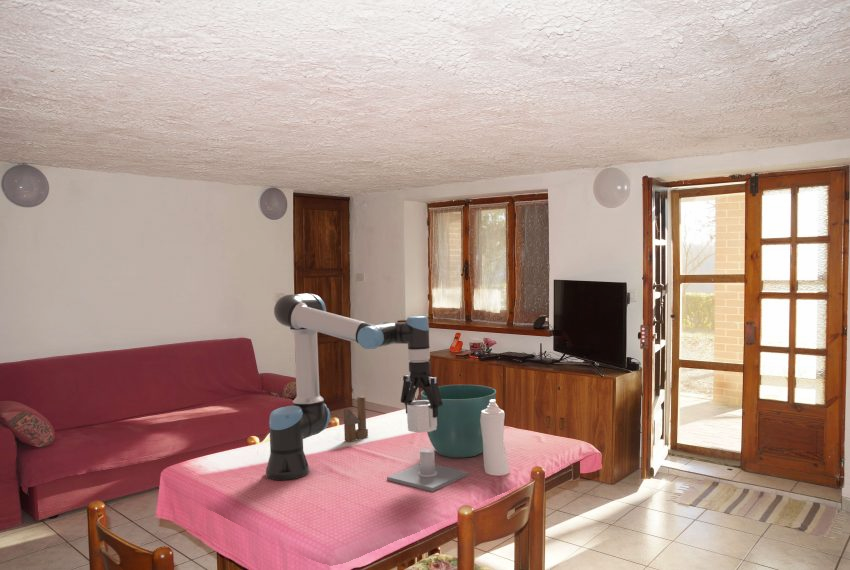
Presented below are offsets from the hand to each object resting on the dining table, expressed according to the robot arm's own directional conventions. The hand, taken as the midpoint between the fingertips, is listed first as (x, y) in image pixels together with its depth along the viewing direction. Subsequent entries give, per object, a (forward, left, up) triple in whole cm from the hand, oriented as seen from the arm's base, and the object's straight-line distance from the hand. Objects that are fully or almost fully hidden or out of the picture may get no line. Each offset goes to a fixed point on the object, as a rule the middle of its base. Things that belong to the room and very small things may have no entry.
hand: (422, 425), depth 213 cm
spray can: (+21, -16, -19) cm, 32 cm away
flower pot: (+33, +8, -19) cm, 39 cm away
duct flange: (+1, -1, -19) cm, 19 cm away
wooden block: (+24, +57, -19) cm, 65 cm away
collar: (0, 0, -1) cm, 1 cm away
